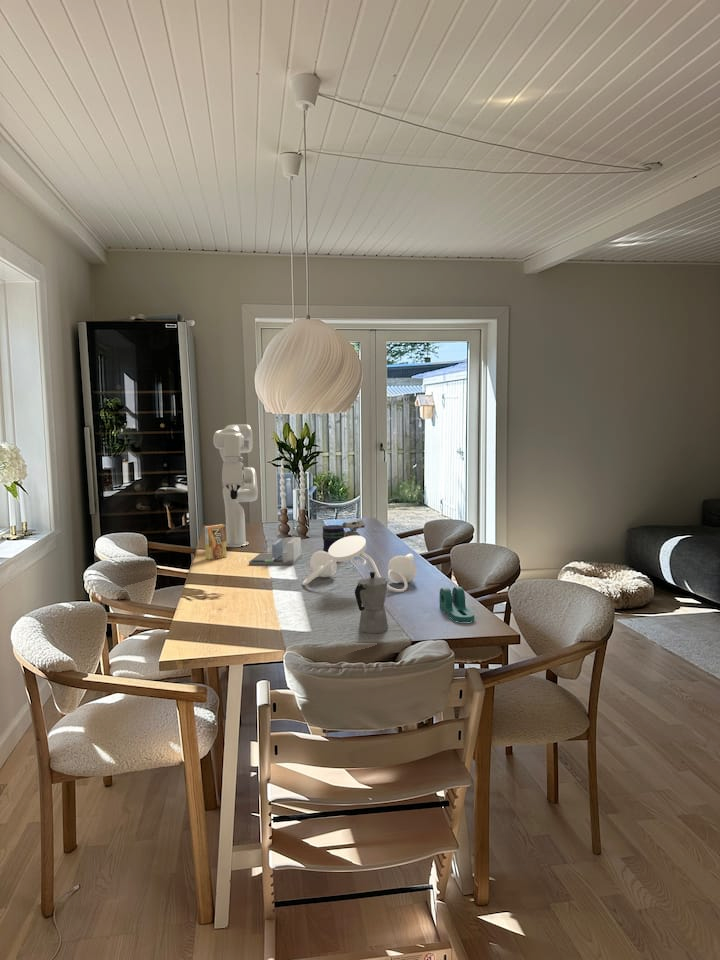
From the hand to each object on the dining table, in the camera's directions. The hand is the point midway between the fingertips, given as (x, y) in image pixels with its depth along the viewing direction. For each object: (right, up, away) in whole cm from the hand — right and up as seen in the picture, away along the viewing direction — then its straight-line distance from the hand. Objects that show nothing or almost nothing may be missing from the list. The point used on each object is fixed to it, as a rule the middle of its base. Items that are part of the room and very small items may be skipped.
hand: (234, 498), depth 320 cm
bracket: (+91, -36, -96) cm, 137 cm away
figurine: (+57, -26, +6) cm, 62 cm away
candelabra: (+58, -32, -54) cm, 85 cm away
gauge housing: (+21, -28, -10) cm, 36 cm away
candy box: (-8, -28, -2) cm, 29 cm away
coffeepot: (+63, -38, -109) cm, 131 cm away
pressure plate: (+22, -26, -12) cm, 36 cm away
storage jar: (+47, -27, -10) cm, 56 cm away
